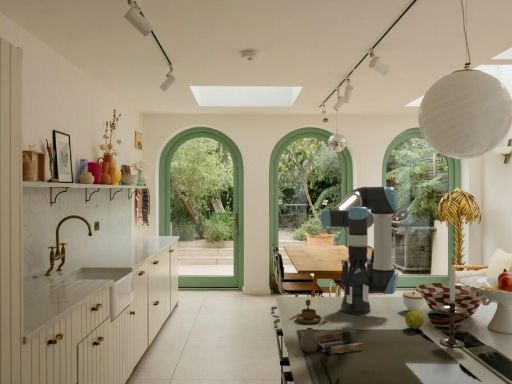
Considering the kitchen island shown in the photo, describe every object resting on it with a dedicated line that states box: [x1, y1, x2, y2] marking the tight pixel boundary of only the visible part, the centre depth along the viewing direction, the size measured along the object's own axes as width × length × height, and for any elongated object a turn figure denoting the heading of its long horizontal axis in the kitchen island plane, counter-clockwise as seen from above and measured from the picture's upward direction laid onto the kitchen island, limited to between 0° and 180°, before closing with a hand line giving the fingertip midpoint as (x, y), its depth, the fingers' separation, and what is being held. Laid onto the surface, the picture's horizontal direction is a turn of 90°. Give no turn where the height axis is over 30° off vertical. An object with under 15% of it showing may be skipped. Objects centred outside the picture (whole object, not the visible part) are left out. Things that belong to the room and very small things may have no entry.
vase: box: [300, 327, 319, 353], centre depth 163 cm, size 7×7×9 cm
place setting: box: [289, 299, 328, 327], centre depth 206 cm, size 18×20×6 cm
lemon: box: [404, 310, 425, 330], centre depth 190 cm, size 11×8×8 cm
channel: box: [316, 331, 364, 355], centre depth 168 cm, size 14×14×3 cm
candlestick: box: [437, 258, 468, 349], centre depth 171 cm, size 11×11×35 cm
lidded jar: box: [402, 290, 425, 312], centre depth 221 cm, size 11×11×9 cm
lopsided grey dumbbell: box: [317, 326, 358, 353], centre depth 167 cm, size 16×9×6 cm, turn 110°
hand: (357, 302), depth 171 cm, fingers open, 7 cm apart
